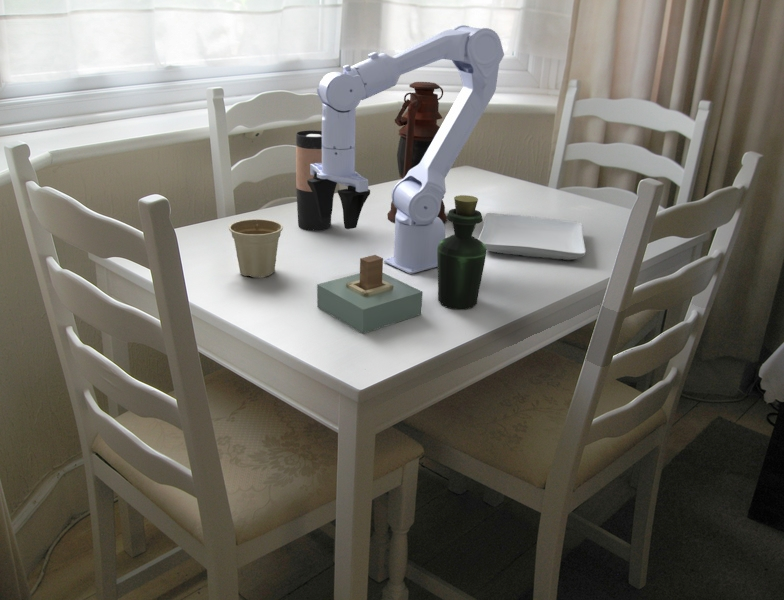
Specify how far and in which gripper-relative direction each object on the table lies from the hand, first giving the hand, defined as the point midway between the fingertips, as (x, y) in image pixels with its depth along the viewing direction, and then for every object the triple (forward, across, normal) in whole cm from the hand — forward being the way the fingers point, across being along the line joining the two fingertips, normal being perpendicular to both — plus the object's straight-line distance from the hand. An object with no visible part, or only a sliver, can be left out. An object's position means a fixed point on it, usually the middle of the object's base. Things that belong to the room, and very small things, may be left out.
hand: (337, 222), depth 126 cm
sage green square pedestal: (+9, +17, -6) cm, 20 cm away
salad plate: (+10, +10, +43) cm, 45 cm away
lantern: (+10, -17, +35) cm, 40 cm away
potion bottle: (+10, +23, +8) cm, 26 cm away
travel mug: (+10, -25, +12) cm, 29 cm away
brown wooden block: (+8, +17, -6) cm, 20 cm away
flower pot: (+10, -8, -12) cm, 17 cm away
